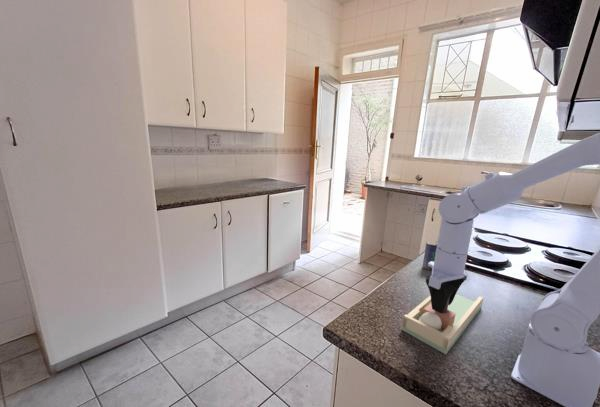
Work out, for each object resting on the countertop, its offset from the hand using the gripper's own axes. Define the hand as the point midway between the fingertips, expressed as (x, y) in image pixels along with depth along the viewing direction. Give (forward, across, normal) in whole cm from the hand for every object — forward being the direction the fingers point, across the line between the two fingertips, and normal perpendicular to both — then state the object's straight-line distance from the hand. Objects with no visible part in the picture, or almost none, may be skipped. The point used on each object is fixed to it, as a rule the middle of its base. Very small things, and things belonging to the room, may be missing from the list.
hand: (441, 306), depth 59 cm
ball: (+2, +5, 0) cm, 5 cm away
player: (+3, +1, 0) cm, 3 cm away
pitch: (+5, -4, 0) cm, 6 cm away
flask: (+5, -29, -11) cm, 31 cm away
